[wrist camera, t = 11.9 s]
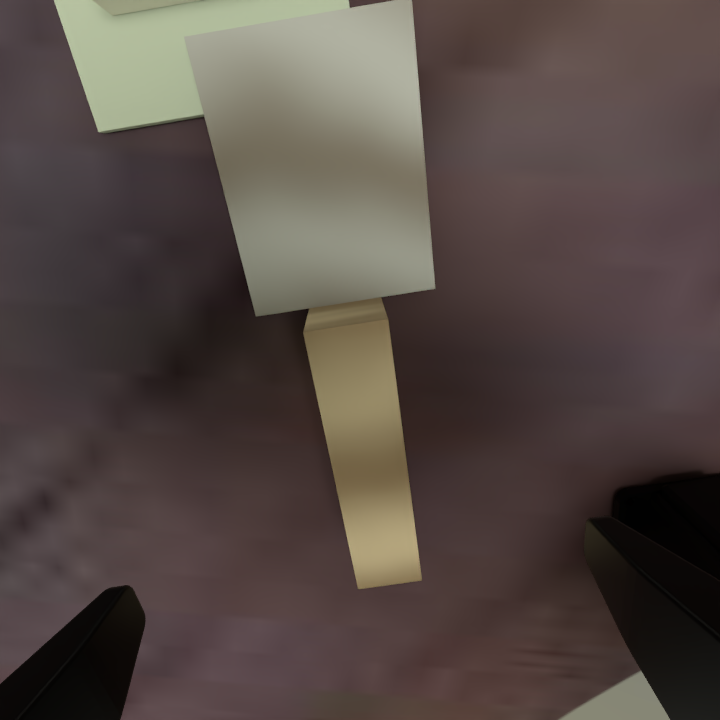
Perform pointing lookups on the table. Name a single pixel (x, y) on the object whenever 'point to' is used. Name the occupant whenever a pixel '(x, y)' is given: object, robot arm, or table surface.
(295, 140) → the turner
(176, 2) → the tile
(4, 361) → the table surface
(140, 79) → the mat
